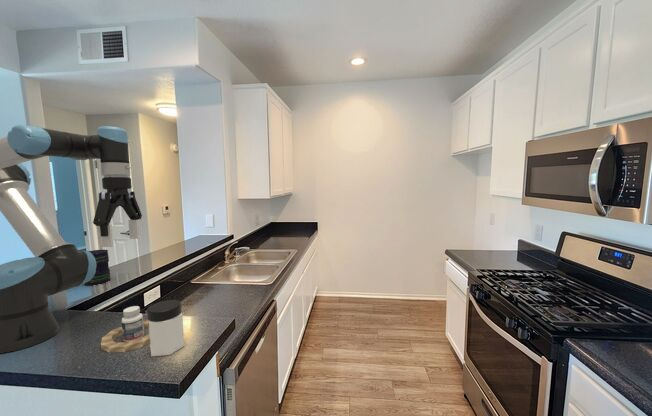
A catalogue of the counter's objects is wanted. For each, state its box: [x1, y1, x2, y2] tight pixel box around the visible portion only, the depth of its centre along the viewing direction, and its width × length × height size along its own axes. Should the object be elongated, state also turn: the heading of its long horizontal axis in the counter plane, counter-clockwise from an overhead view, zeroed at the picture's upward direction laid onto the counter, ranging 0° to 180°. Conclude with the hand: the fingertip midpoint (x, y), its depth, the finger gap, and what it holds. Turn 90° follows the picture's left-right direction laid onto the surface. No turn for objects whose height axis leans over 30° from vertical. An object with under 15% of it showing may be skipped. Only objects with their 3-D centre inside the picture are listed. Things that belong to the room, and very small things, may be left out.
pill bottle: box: [121, 305, 145, 342], centre depth 83 cm, size 5×5×9 cm
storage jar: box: [84, 249, 111, 287], centre depth 134 cm, size 10×10×15 cm
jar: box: [146, 299, 185, 357], centre depth 77 cm, size 9×8×12 cm
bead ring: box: [100, 320, 150, 354], centre depth 84 cm, size 15×15×2 cm
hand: (122, 242), depth 92 cm, fingers open, 13 cm apart
